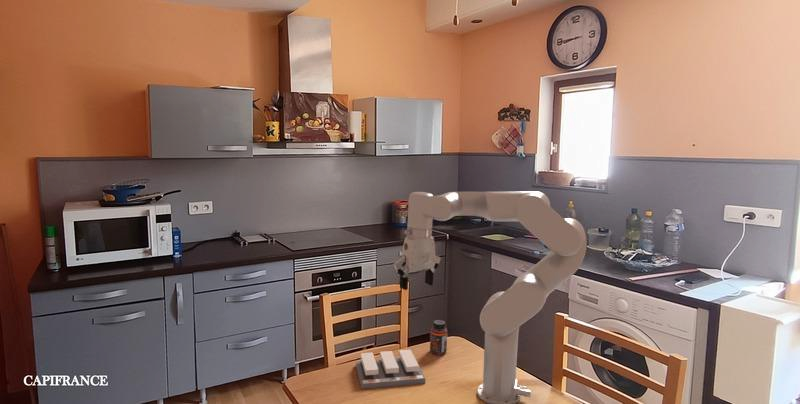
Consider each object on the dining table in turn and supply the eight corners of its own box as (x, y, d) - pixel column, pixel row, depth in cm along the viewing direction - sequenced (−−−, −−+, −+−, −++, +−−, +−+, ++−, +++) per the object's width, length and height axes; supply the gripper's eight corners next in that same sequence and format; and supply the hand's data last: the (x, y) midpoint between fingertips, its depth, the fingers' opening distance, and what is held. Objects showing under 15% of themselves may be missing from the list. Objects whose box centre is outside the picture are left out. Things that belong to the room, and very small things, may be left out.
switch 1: (372, 356, 165) (372, 352, 164) (378, 374, 153) (378, 369, 153) (360, 357, 164) (360, 353, 164) (365, 375, 152) (365, 370, 152)
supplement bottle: (426, 353, 175) (427, 322, 173) (435, 347, 180) (436, 317, 178) (441, 357, 171) (442, 326, 170) (449, 351, 176) (450, 321, 175)
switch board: (414, 361, 169) (414, 356, 168) (425, 383, 154) (425, 377, 154) (355, 365, 164) (355, 361, 164) (361, 388, 150) (361, 383, 150)
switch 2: (410, 353, 167) (410, 349, 167) (418, 370, 156) (419, 365, 155) (398, 354, 166) (398, 350, 166) (406, 371, 155) (406, 367, 155)
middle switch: (391, 355, 166) (391, 350, 166) (398, 372, 154) (398, 367, 154) (379, 356, 165) (380, 351, 165) (386, 373, 154) (386, 368, 153)
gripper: (403, 237, 142) (400, 294, 145) (449, 232, 152) (445, 285, 155) (388, 232, 148) (386, 286, 151) (434, 227, 158) (430, 279, 161)
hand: (416, 286), depth 153 cm, fingers open, 9 cm apart
